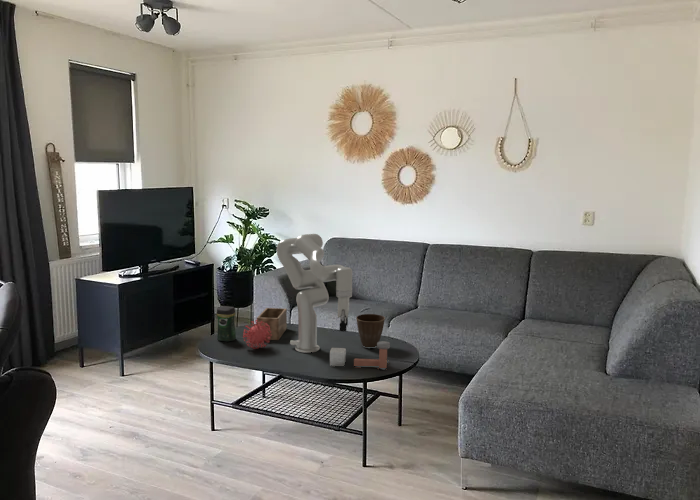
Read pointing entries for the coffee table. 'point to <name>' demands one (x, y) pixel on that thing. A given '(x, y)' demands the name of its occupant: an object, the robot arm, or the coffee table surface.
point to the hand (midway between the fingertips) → (343, 328)
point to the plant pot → (370, 328)
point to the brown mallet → (376, 362)
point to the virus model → (257, 334)
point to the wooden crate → (274, 321)
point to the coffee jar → (226, 323)
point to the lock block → (337, 356)
